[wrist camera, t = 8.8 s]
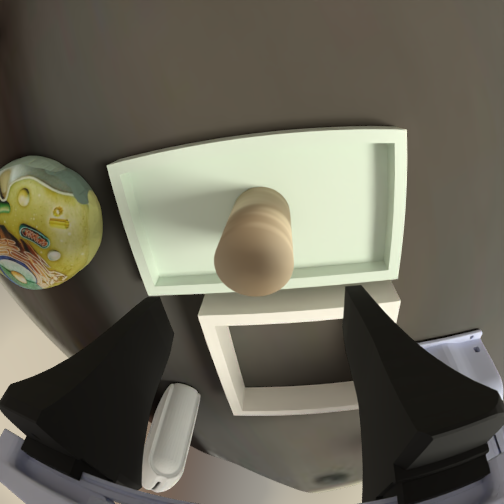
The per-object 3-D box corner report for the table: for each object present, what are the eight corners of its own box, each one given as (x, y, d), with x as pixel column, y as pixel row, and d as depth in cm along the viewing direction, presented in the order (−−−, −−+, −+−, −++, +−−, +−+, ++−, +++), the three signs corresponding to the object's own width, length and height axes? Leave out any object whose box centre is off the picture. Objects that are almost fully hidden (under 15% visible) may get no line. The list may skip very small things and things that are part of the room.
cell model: (131, 269, 19) (2, 334, 18) (131, 218, 25) (20, 280, 24) (52, 131, 13) (-73, 243, 11) (79, 113, 19) (-35, 200, 17)
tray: (395, 126, 15) (406, 129, 14) (390, 265, 20) (397, 278, 19) (119, 159, 18) (106, 165, 16) (156, 281, 23) (148, 295, 21)
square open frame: (388, 276, 21) (400, 300, 18) (367, 384, 27) (372, 406, 25) (206, 290, 23) (197, 315, 20) (237, 392, 29) (233, 415, 27)
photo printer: (184, 421, 35) (164, 499, 24) (154, 410, 34) (129, 488, 23) (206, 390, 30) (184, 491, 19) (170, 376, 29) (138, 476, 18)
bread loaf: (287, 183, 17) (290, 224, 12) (292, 237, 19) (296, 294, 14) (228, 190, 18) (206, 232, 13) (237, 241, 20) (222, 298, 14)
